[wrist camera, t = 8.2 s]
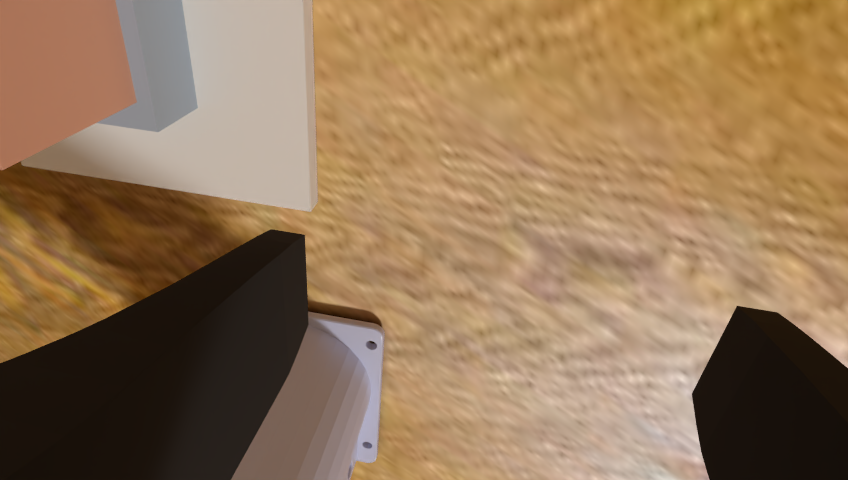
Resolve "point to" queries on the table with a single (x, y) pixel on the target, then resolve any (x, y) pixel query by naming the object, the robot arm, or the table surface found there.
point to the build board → (223, 114)
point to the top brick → (58, 72)
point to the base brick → (156, 64)
